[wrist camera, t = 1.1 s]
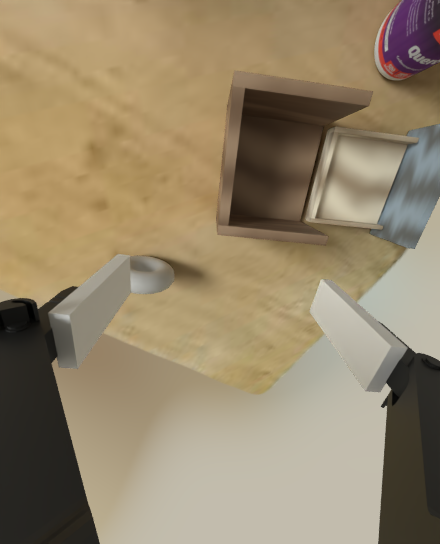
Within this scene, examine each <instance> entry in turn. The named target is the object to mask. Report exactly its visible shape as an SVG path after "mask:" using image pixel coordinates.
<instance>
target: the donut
mask: <svg viewBox="0 0 440 544" xmlns="http://www.w3.org/2000/svg"><path fill="white" fill-rule="evenodd" d="M130 280H131V293H137V294H153V293H158V292H161V291H163V290H165V289H167V288H169V287H170V285H171V284H172V283H173V282H174V270H173V269H172V267H171V266H170V265H169V264H168V263H166V262H165V261H163V260H160V259H158V258H154V257H149V256H130Z"/></svg>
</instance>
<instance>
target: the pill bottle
mask: <svg viewBox="0 0 440 544" xmlns="http://www.w3.org/2000/svg"><path fill="white" fill-rule="evenodd" d="M374 57H375V63H376V66H377V68H378V70H379V72H380V73H381V74H382V75H383V76H384V77H386V78H387V79H390V80H403V79H406V78H409V77H411V76H413V75H415V74H417V73H419V72H421V71H423V70H425V69H427V68H429V67H431V66H433V65H435V64H437V63H439V62H440V0H401V1H400V2H399V3H398V4H397V5H396V6H395V7H394V8H393V9H392V10H391V11H390V13H389V14H388V15H387V17H386V18H385V20H384V21H383V23H382V25H381V27H380V29H379V32H378V34H377V37H376V41H375V49H374Z"/></svg>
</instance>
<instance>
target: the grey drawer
mask: <svg viewBox="0 0 440 544" xmlns="http://www.w3.org/2000/svg"><path fill="white" fill-rule="evenodd" d="M439 197H440V124H437V125H432V126H428V127H424V128H419V129H415V130H411V131H409V132H408V134H407V136H402V135H395V134H387V133H380V132H373V131H366V130H358V129H351V128H344V127H336V126H335V127H333V128H330V129H328V131H327V135H326V139H325V143H324V147H323V150H322V154H321V158H320V162H319V166H318V170H317V174H316V178H315V182H314V186H313V189H312V193H311V197H310V201H309V205H308V209H307V213H306V217H305V220H307V221H309V222H314V223H323V224H333V225H342V226H352V227H361V228H371V231H370V234H371V235H374V236H377V237H380V238H382V239H385V240H388V241H390V242H393V243H396V244H398V245H401V246H404V247H406V248H413V249H415V247H416V245H417V243H418V240H419V238H420V236H421V234H422V232H423V230H424V228H425V226H426V224H427V222H428V220H429V217H430V215H431V213H432V211H433V209H434V207H435V205H436V203H437V201H438V199H439Z"/></svg>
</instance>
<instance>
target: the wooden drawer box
mask: <svg viewBox="0 0 440 544" xmlns="http://www.w3.org/2000/svg"><path fill="white" fill-rule="evenodd" d="M372 94H373V91H367V90H361V89H354V88H347V87H341V86H334V85H327V84H321V83H314V82H308V81H301V80H294V79H288V78H281V77H274V76H268V75H261V74H254V73H248V72H241V71H235V70H234V75H233V80H232V85H231V90H230V95H229V100H228V105H227V115H226V125H225V135H224V145H223V155H222V166H221V176H220V186H219V196H218V206H217V216H216V222H217V235H225V236H235V237H245V238H255V239H266V240H276V241H286V242H296V243H306V244H317V245H326V243H327V240H328V237H329V236H327V235H325V234H323V233H321V232H320V231H318V230H316V229H314V228H312V227H310V226H308V225H306V224H304V223H302V222H300V219H301V215H302V211H303V207H304V203H305V199H306V195H307V191H308V187H309V183H310V179H311V175H312V171H313V167H314V163H315V159H316V155H317V151H318V147H319V143H320V139H321V135H322V131H323V127H324V126H325V125H327V124H330V123H332V122H334V121H336V120H339V119H341V118H343V117H345V116H348V115H350V114H352V113H354V112H357V111H359V110H361V109H363V108H365V107H368V106H369V104H370V101H371V97H372Z"/></svg>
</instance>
